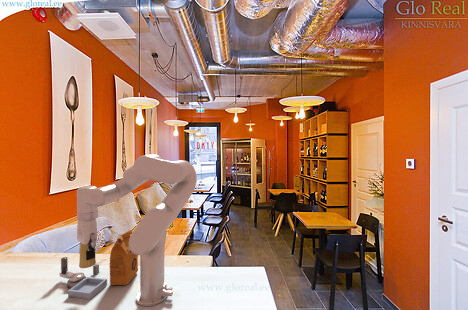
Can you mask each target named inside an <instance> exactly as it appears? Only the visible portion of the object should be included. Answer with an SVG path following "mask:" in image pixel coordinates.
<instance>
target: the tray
mask: <svg viewBox="0 0 468 310" xmlns="http://www.w3.org/2000/svg"><path fill="white" fill-rule="evenodd" d="M107 285H108V278H101V277H93V276H92V277H91V276H86V278H85V279H84V280H82V281H81V282H79V283H78V284H77V285H75V286H74V287H72V288H71V289H68V290H67V297H68V298H72V299H78V300H87V301H90V300H91V299H93V298H94V297H95V296H96V295H97V294H98V293H100V292H101V291H102V290H104V288H106V286H107Z"/></svg>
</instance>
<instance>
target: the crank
mask: <svg viewBox="0 0 468 310" xmlns="http://www.w3.org/2000/svg"><path fill="white" fill-rule="evenodd" d="M68 262H69V261H68V256H64V257H62V258H60V269H61V270H60V272H59V277H60V278H64V279H68V280H69V282H71V283H75V282H79V281H81V280H82V279H84V276H85V273H84V272H76V273H75V272H71V271H68V270H69V269H68V267H69V266H68Z"/></svg>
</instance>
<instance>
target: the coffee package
mask: <svg viewBox="0 0 468 310" xmlns="http://www.w3.org/2000/svg"><path fill="white" fill-rule="evenodd" d="M132 233H133V231H132V229H129V230H128V231H126V232H124V233H121V235H120V236H119V237H118V238H117V239H116V241H115V243H114V245H113V246H112V247H111V250H110V256H109V285H110V286H115V285H116V286H117V285H118V286H126V285H129V283H130V281H132V279H133V278H134V277H135V276H136V274H137V273H138V271H139V263H138V262H139V261H138V260H139V259H138V257H139V255H136V254H134V253H132V252H131V250H130V248H129V239H130V236H131V235H132Z"/></svg>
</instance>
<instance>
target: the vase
mask: <svg viewBox="0 0 468 310" xmlns="http://www.w3.org/2000/svg"><path fill="white" fill-rule="evenodd" d="M90 242H91V241H89V242H88V243H90ZM90 245H91V244H89V247H90ZM86 251H87V245H83V244H82V243H81V242H79V264H78V267H79V268H80V269H88V268H91V267H93V266H94V265H95V264H97V260H96V257H95V258H93V259H90V260H86Z"/></svg>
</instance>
